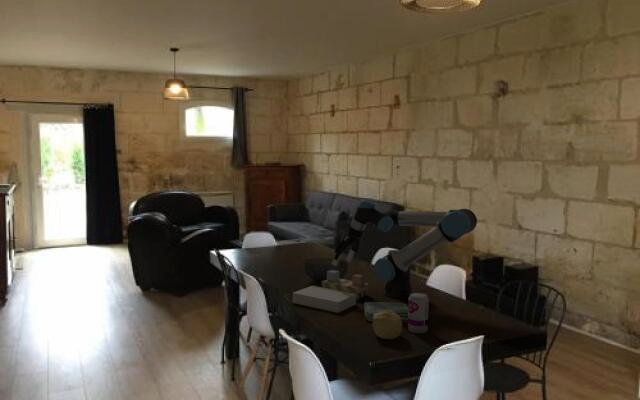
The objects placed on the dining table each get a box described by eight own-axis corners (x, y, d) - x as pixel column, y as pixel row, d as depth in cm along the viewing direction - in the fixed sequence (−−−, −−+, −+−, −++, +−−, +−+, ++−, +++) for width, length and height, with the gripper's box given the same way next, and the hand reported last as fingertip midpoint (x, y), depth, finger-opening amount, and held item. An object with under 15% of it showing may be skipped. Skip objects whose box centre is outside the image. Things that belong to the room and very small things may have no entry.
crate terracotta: (365, 284, 262) (365, 275, 261) (360, 286, 258) (360, 277, 257) (356, 283, 264) (357, 274, 264) (352, 285, 260) (352, 275, 260)
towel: (362, 309, 242) (362, 299, 241) (408, 310, 241) (408, 300, 241) (364, 322, 224) (365, 311, 223) (413, 323, 223) (414, 312, 223)
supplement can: (416, 335, 208) (417, 298, 207) (403, 328, 215) (404, 293, 214) (431, 332, 212) (433, 296, 211) (419, 325, 219) (420, 291, 218)
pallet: (369, 296, 264) (369, 283, 264) (358, 301, 255) (358, 288, 254) (333, 289, 276) (333, 277, 276) (321, 293, 267) (322, 281, 267)
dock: (355, 304, 249) (355, 294, 248) (338, 312, 235) (338, 301, 235) (311, 295, 263) (311, 285, 263) (292, 302, 250) (292, 292, 249)
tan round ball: (369, 339, 202) (370, 312, 201) (377, 329, 214) (377, 304, 213) (398, 343, 198) (398, 316, 197) (404, 333, 210) (405, 308, 209)
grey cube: (339, 280, 270) (339, 271, 270) (334, 282, 266) (334, 272, 266) (331, 278, 273) (331, 269, 272) (326, 280, 269) (326, 271, 268)
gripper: (363, 222, 275) (348, 255, 281) (338, 226, 254) (322, 262, 260) (374, 229, 271) (358, 263, 277) (349, 233, 250) (333, 270, 257)
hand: (341, 262), depth 269 cm, fingers open, 13 cm apart
